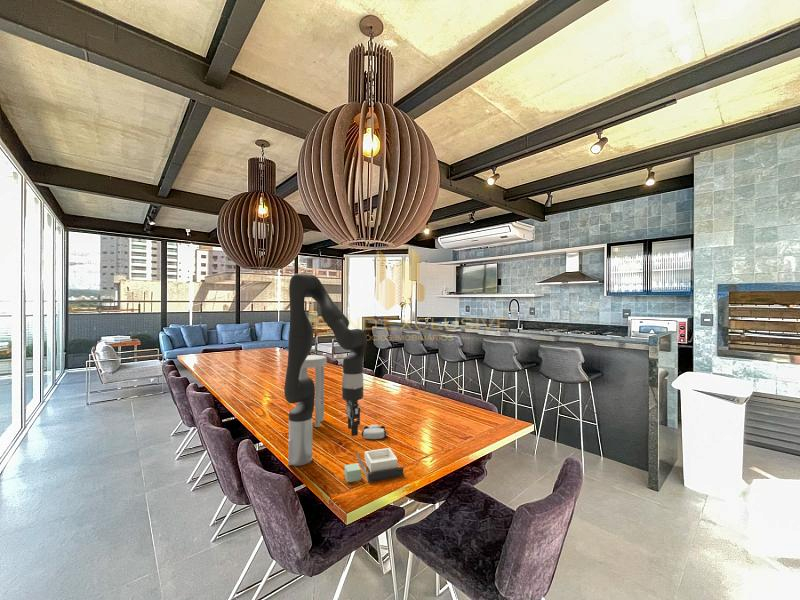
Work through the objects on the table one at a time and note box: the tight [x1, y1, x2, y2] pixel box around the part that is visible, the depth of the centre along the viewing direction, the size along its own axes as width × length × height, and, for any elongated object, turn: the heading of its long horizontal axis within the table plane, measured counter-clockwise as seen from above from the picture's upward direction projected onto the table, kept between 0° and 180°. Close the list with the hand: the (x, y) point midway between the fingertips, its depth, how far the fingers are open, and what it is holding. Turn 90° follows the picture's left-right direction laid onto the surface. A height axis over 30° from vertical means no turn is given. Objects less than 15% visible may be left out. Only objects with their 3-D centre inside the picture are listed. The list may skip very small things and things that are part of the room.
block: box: [343, 462, 362, 483], centre depth 119 cm, size 5×5×5 cm
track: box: [355, 453, 404, 483], centre depth 129 cm, size 13×22×4 cm, turn 19°
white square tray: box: [364, 447, 399, 472], centre depth 125 cm, size 10×10×6 cm
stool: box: [296, 354, 328, 428], centre depth 176 cm, size 16×16×35 cm
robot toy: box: [360, 423, 388, 440], centre depth 159 cm, size 12×4×15 cm
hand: (352, 431), depth 119 cm, fingers open, 6 cm apart
